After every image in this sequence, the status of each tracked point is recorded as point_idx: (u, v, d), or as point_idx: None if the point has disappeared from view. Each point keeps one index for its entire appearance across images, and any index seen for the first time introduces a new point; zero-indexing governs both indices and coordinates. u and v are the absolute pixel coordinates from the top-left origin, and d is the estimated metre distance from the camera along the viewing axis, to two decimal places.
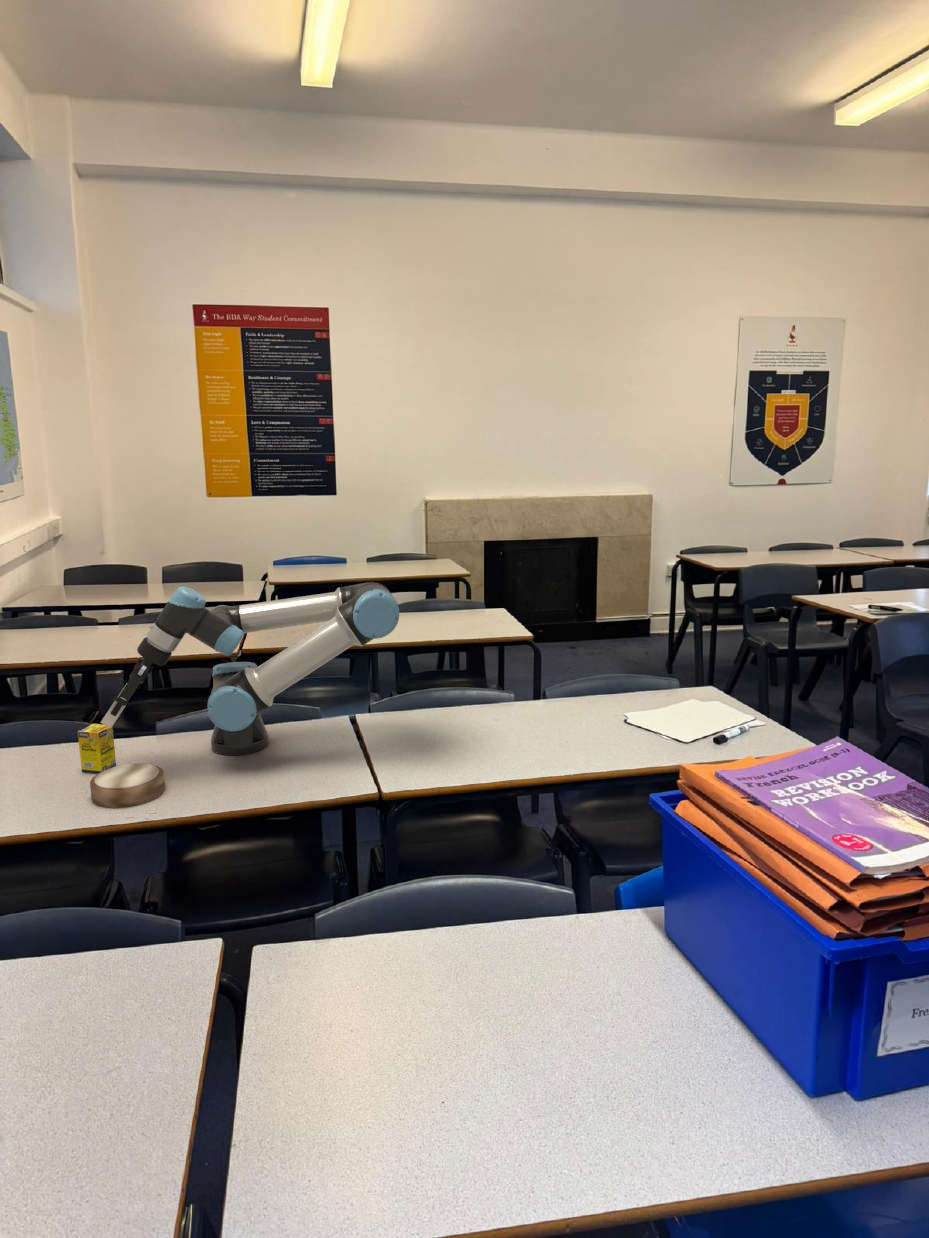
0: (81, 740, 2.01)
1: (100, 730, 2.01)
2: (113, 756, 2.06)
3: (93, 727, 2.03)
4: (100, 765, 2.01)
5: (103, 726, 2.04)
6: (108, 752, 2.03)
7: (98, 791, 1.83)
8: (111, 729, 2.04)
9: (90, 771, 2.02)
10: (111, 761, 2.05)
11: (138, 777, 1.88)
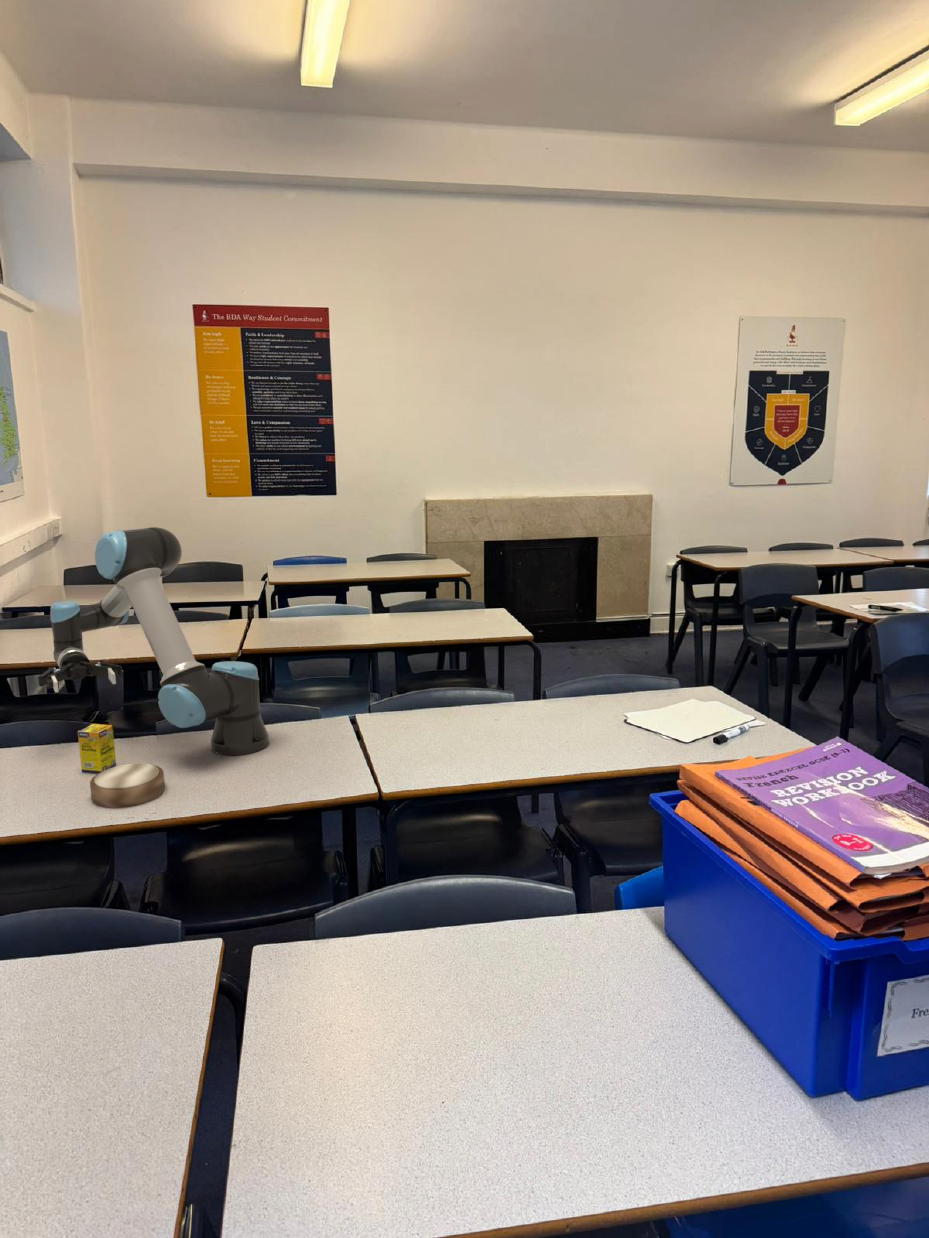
0: (81, 740, 2.01)
1: (100, 730, 2.01)
2: (113, 756, 2.06)
3: (93, 727, 2.03)
4: (100, 765, 2.01)
5: (103, 726, 2.04)
6: (108, 752, 2.03)
7: (98, 791, 1.83)
8: (111, 729, 2.04)
9: (90, 771, 2.02)
10: (111, 761, 2.05)
11: (138, 777, 1.88)
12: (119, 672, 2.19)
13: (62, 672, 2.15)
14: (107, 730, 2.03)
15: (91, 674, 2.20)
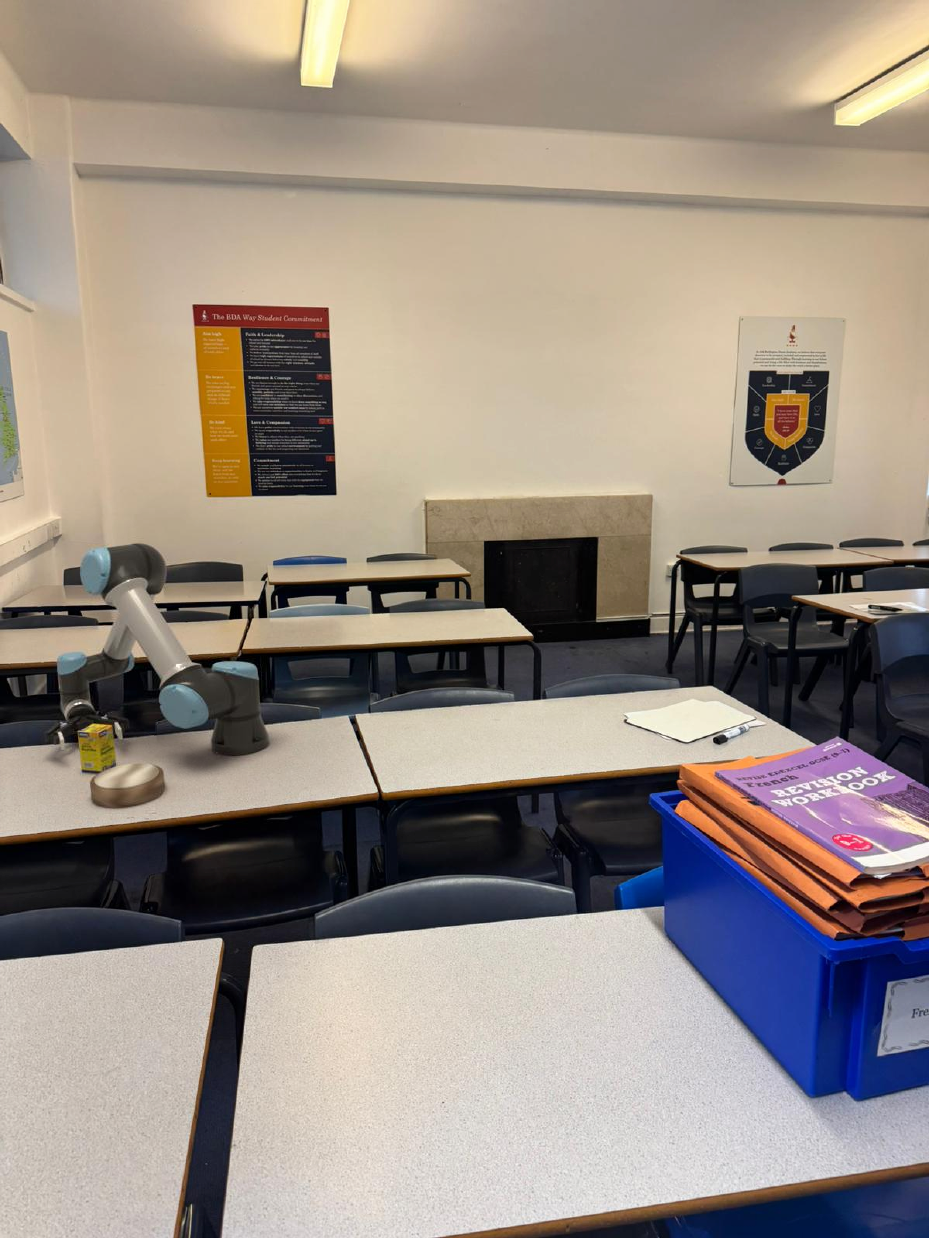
0: (81, 740, 2.01)
1: (100, 730, 2.01)
2: (113, 756, 2.06)
3: (93, 727, 2.03)
4: (100, 765, 2.01)
5: (103, 726, 2.04)
6: (108, 752, 2.03)
7: (98, 791, 1.83)
8: (111, 729, 2.04)
9: (90, 771, 2.02)
10: (111, 761, 2.05)
11: (138, 777, 1.88)
12: (126, 726, 2.18)
13: (69, 727, 2.14)
14: (107, 730, 2.03)
15: None
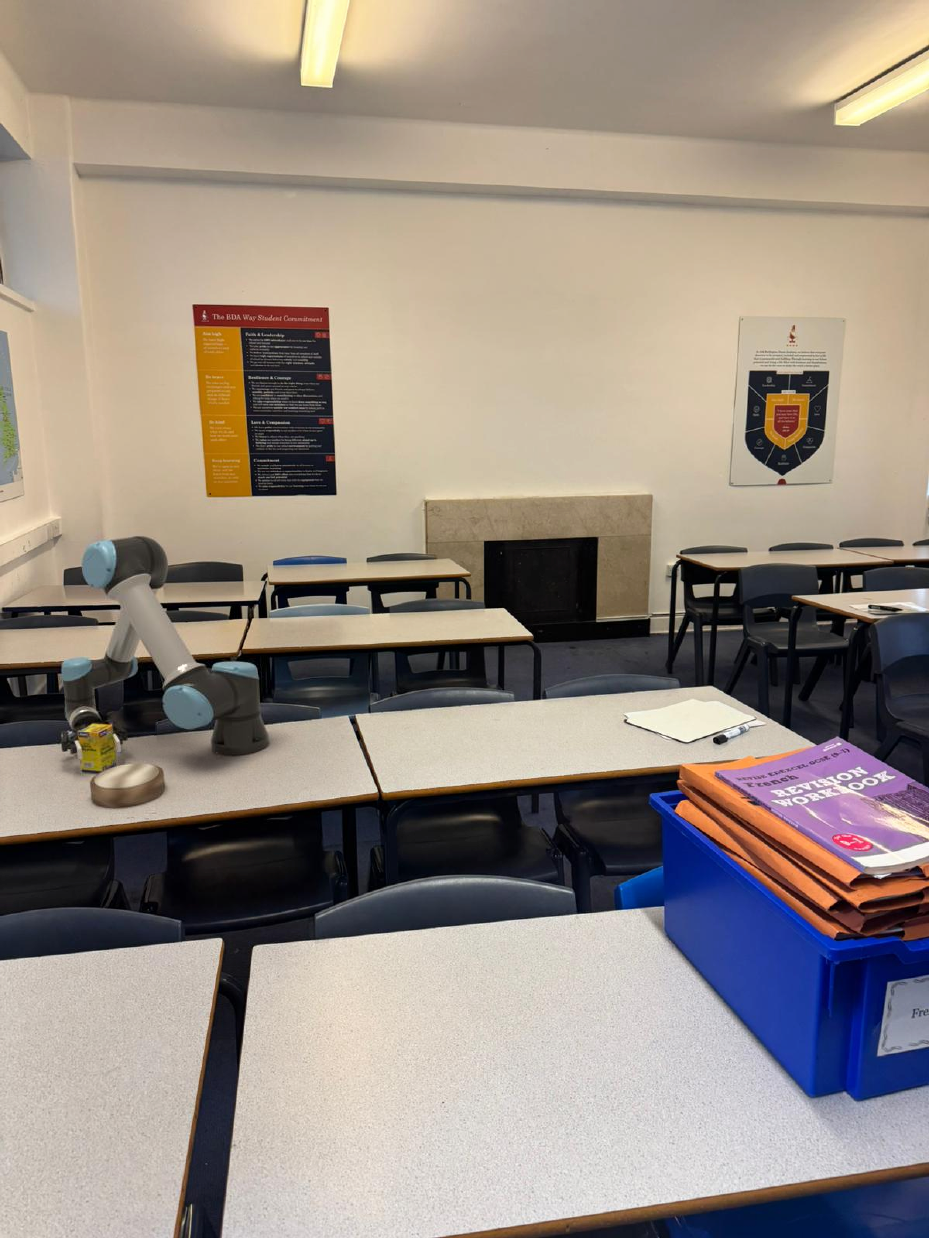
0: (81, 740, 2.01)
1: (100, 730, 2.01)
2: (113, 756, 2.06)
3: (93, 727, 2.03)
4: (100, 765, 2.01)
5: (103, 726, 2.04)
6: (108, 752, 2.03)
7: (98, 791, 1.83)
8: (111, 729, 2.04)
9: (90, 771, 2.02)
10: (111, 760, 2.05)
11: (138, 777, 1.88)
12: (123, 737, 2.09)
13: None
14: (107, 730, 2.03)
15: None
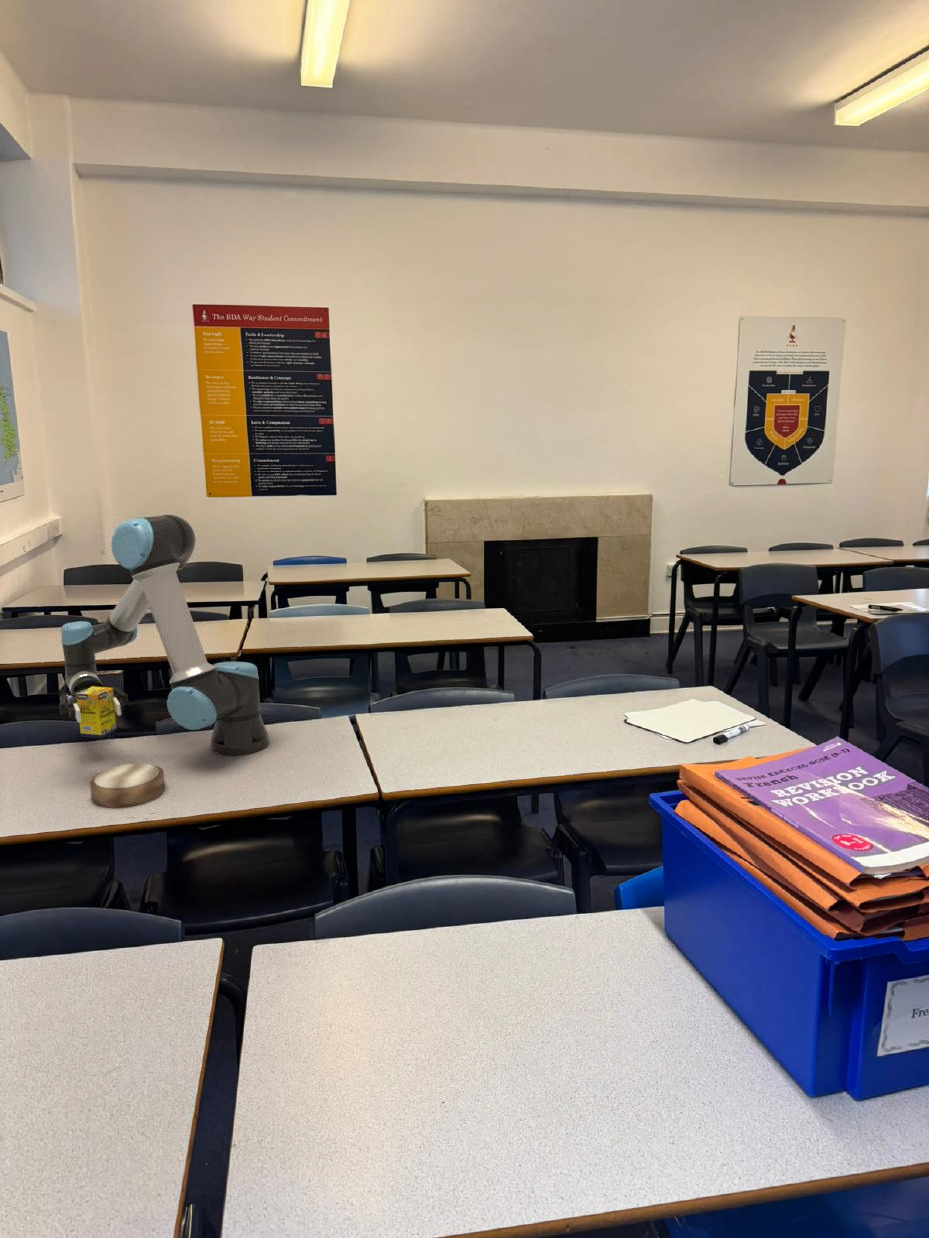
0: (80, 702, 1.93)
1: (99, 692, 1.93)
2: (113, 720, 1.98)
3: (92, 689, 1.95)
4: (99, 728, 1.93)
5: (103, 688, 1.96)
6: (108, 715, 1.96)
7: (98, 791, 1.83)
8: (111, 692, 1.96)
9: (89, 735, 1.94)
10: (111, 725, 1.97)
11: (138, 777, 1.88)
12: (124, 701, 2.01)
13: None
14: (107, 692, 1.95)
15: None
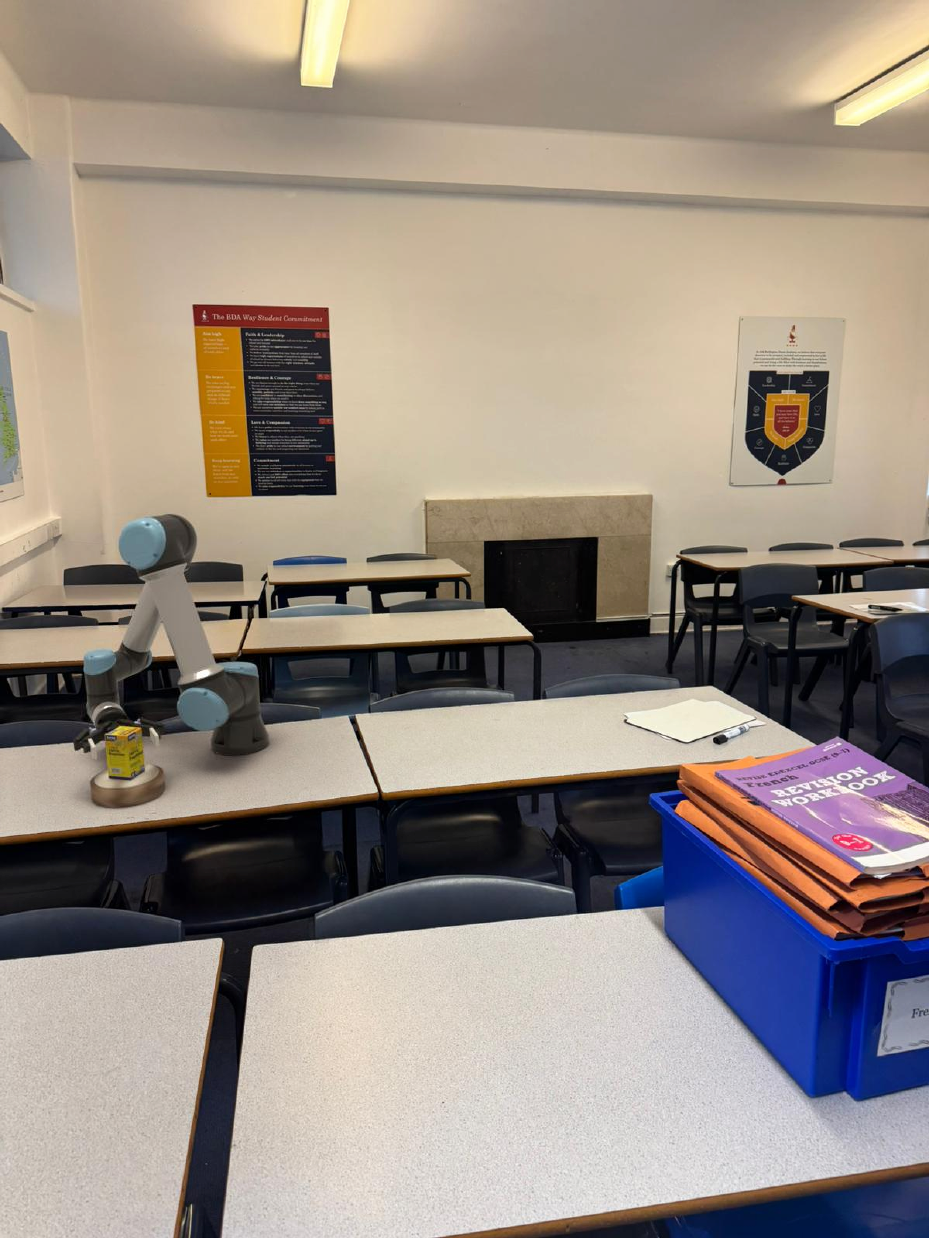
0: (108, 744, 1.85)
1: (128, 733, 1.86)
2: (142, 761, 1.90)
3: (121, 730, 1.88)
4: (129, 770, 1.86)
5: (131, 729, 1.89)
6: (137, 756, 1.88)
7: (98, 791, 1.83)
8: (140, 732, 1.89)
9: (118, 777, 1.87)
10: (140, 766, 1.90)
11: (138, 777, 1.88)
12: (162, 731, 1.96)
13: (99, 733, 1.92)
14: (136, 733, 1.88)
15: None
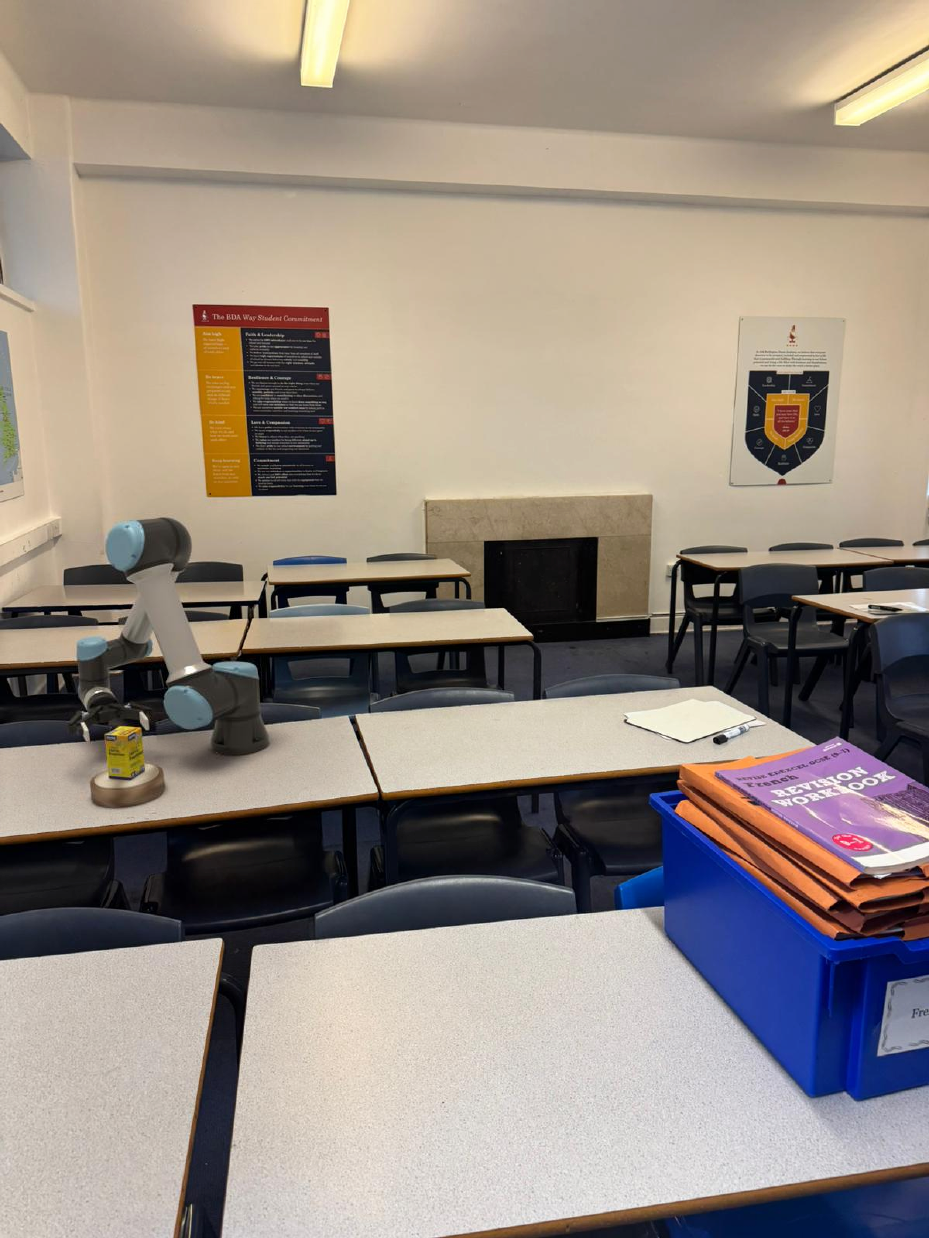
0: (108, 744, 1.85)
1: (128, 733, 1.86)
2: (142, 761, 1.90)
3: (121, 730, 1.88)
4: (129, 770, 1.86)
5: (131, 729, 1.89)
6: (137, 756, 1.88)
7: (98, 791, 1.83)
8: (140, 732, 1.89)
9: (118, 777, 1.87)
10: (140, 766, 1.90)
11: (138, 777, 1.88)
12: (151, 715, 2.07)
13: (91, 717, 2.03)
14: (136, 733, 1.88)
15: (121, 717, 2.08)
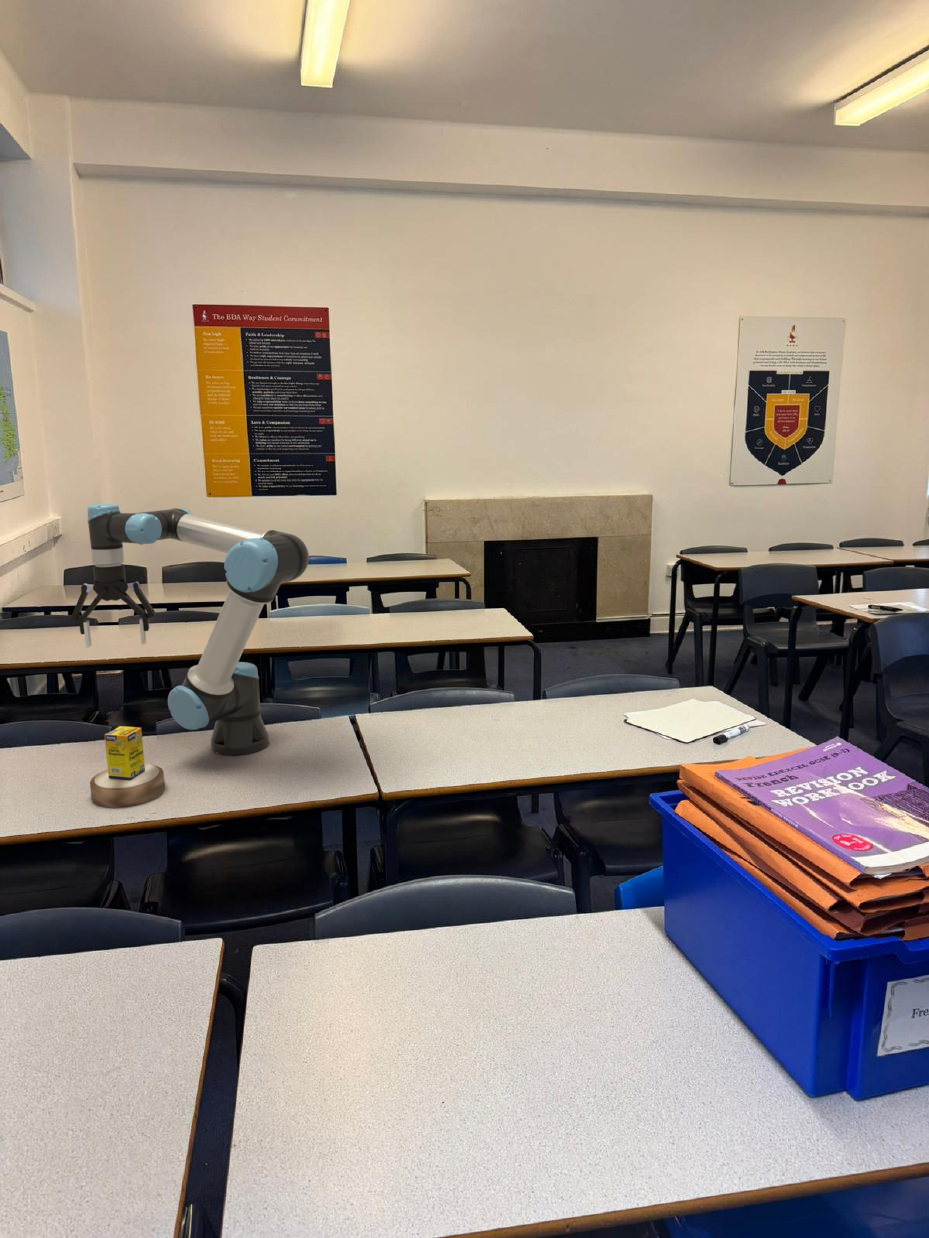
0: (108, 744, 1.85)
1: (128, 733, 1.86)
2: (142, 761, 1.90)
3: (121, 730, 1.88)
4: (129, 770, 1.86)
5: (131, 729, 1.89)
6: (137, 756, 1.88)
7: (98, 791, 1.83)
8: (140, 732, 1.89)
9: (118, 777, 1.87)
10: (140, 766, 1.90)
11: (138, 777, 1.88)
12: None
13: (94, 606, 2.09)
14: (136, 733, 1.88)
15: None
